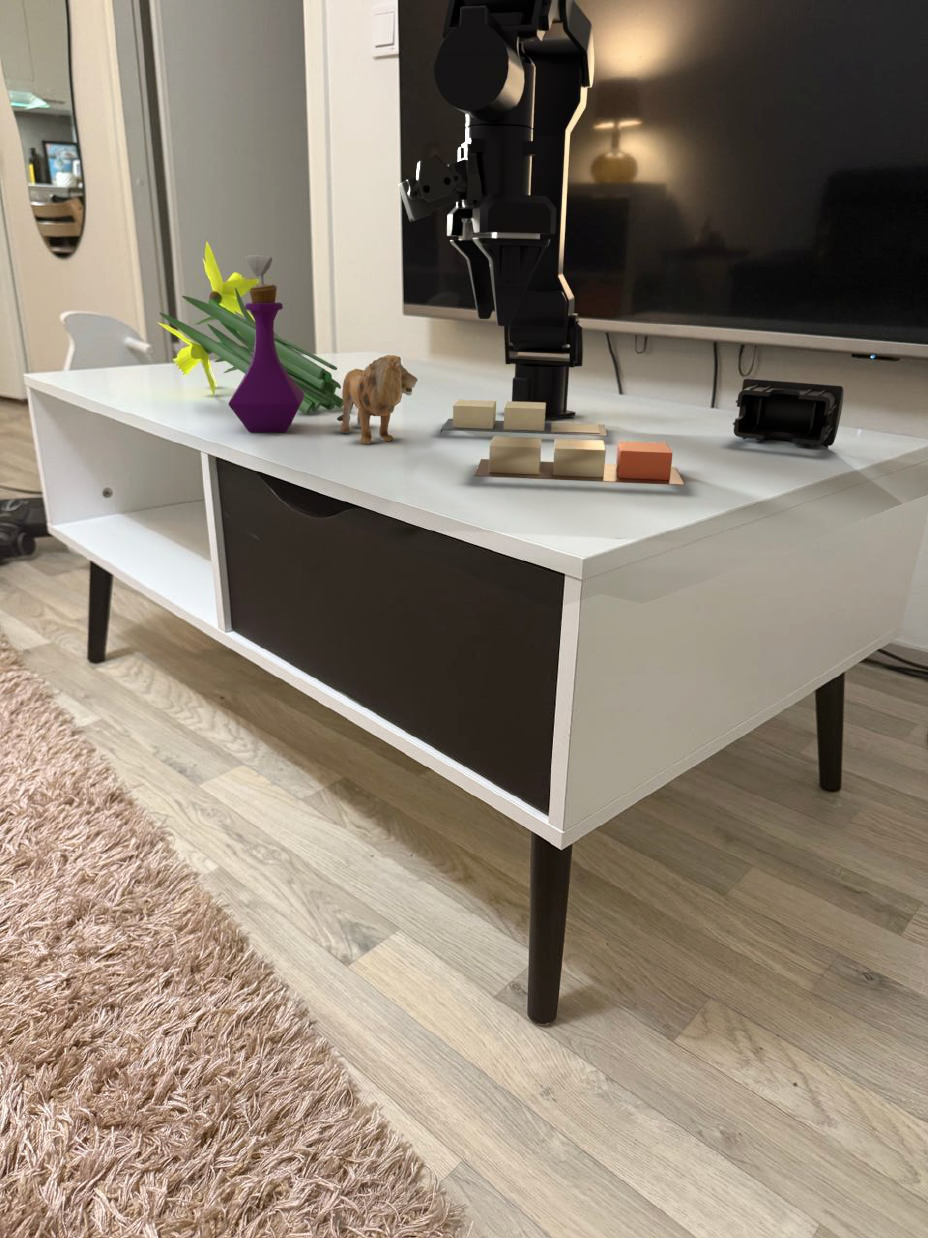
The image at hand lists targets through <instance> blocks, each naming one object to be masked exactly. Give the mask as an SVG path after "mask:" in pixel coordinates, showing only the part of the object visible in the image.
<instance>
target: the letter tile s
mask: <svg viewBox="0 0 928 1238" xmlns="http://www.w3.org/2000/svg"><path fill="white" fill-rule="evenodd" d="M673 455H674V453H673V451H672V449H671V448H670V445H669V443H667V442H652V441H651V442H650V441H649V442H648V441H628V440H627V441H625V440H623V441H622V440H618V441H617V448H616V459H615V461H616V462H615V464H616V469H617V473H618V477H619V478H627V479H650V480H670V474H671V467H672V463H673Z"/></svg>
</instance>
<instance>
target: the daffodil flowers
mask: <svg viewBox="0 0 928 1238" xmlns="http://www.w3.org/2000/svg"><path fill="white" fill-rule="evenodd" d="M202 262H203V265H204V271H205V275H206V276H207V278H208V280H209V282H210V287H211V289H212V291H211V292H209V295H208V303H207V302H205V301H202V300H199V299H197V298H193V297H190V296H187V295H182V296H181V297H182V298H183V299H184V300H185V301H187V302H188V303H189V304H191V305H192V306H194V307H195V308H197V309H199V310H200V311H202V312H203V313H205V314H206V315H208V316H207V317H204V318H202V319H201V320H199V321H198V322H196V323H195V324H194V326H199V325H202V324H205V323H207V326H208V328H209V330H211V332H212V333H213V334H214V335H215V336H216V338H217V339H218V340H219V341H217V340H214V339H213V338H212V337H209V336H207V335H206V334H205V333H203V332H201V331H199V330H198V329H196V328H194V327H192V326H190V325H188V324H186V323H184V322H182V321H181V320H179V319H176V318H174V317H172V316H170V315H168V314H166V313H164V312H160V311H159V315H160V316H161V317H163V318H164V319H165V320H166V321H167V322H169V324H171V325H172V326H174V327H175V328H177V329H178V330H177V329H175V328H173V327H171V326H169V324H164V323H161V322H157V321H156V323H157V324H158V325H160V326H161V327H162V328H163V329H164V330H167V331H168V332H170V333H171V334H172V335H174V336H175V337H177V338H178V339H180V340H181V341H182V342H183V343H186V344H187V345H188V346H185V347H182V348H181V349H180V350H179V351H178V353H177V355H176V356H177V357H175V358H173V359H172V361H173V363H174V364H175V366H176V367H178V370H180V371H181V372H180V373H183V375H184V377H187V376H188V375H189V373H190V372H191V371H192V370H193V369H194V368H195V367H196V366H197V365H198V364H199V363H201V365H202V368H203V370H204V373H205V376H206V378H207V382H208V384H209V387H210V390H211V392H212V395H213V396H215V392H216V388H218V384H217V381H216V377H215V374H214V372H213V369H212V365H211V361H210V358H209V355H211V354H214V355H216V356H218V359H216V360H213V361H212V363H222V362H227V363H228V364H229V365H230V366H232V367H230V368H228V369H226V370H224V371H223V374H227V373H230V372H233V371H237V370H238V371H240V372H241V373H243V374H245V373H246V371H247V369H248V367H249V365H250V363H251V361H252V357H253V353H254V348H255V340H256V325H255V320H254V318H253V316H252V314H251V312H250V311H249V310H247V309H245V303H244V302H243V299H242V298H241V297H243V296H245V295H246V294H248V293H249V292H250V291H249V290H250V289H251V287H253V286H257V285H258V284H259V283H260V282H261V279H258V278H246V277H243V274H240V272H237V271H234V272H233V273H232V274H231V275H230V277H229V278H228V279H227V280H226V281H223V277H222V274H221V271H220V269H219V266H218V264H217V261H216V258H215V255H214V253H213V250H212V248H211V246H210V244H209V242H208V241H206V243H205V248H204V258H203V257H202ZM236 313H238V314H239V315H241V316H243V317H240V316H239V315H237V314H236ZM216 320H217V321H219V323H220V324H221V325H222V326H223V327H224V328H225V329H226V330H227V331H228V332H230V334H232V335H233V336H234V337H235V338H236V339H237V340H238V341H239V342H241V343H242V344H243V345H240V344H239V343H237V342H236V341H235V340H233V339H232V338H230V337H229V336H228V335H226V334H225V333H223V332H222V331H220V330H219V329H218V328H216V327H214V326H213V325H212V324H209V323H208V322H212V321H216ZM181 332H182V333H181ZM184 334H185V335H186V336H187V337H189V338H191V339H189V338H187V337H186V336H185V335H184ZM274 342H275V347H276V352H277V355H278V358H279V360H280V363H281V364H282V366H283V367H284V369H285V370H286V372H287V373H288V375H289V376H290V377H291V379H292V380H293V381H294V382H295V383H296V384H297V386H298V387H299V388H300V389H301V390H302V392H303V393H304V394H305V396H304V398H303V401H302V403H301V405H300V407H299V409H298V411H301V412H302V413H304V414H305V415H308V414H309V413H310V412H311V411H312V412H316V411H317V410H318V409H319V408H320V406H321V407H322V408H324V409H326V410H328V411H332V410H333V409H335V407H336V408H338V409H341V408H342V407H343V397H340V396H339V395H337V394H336V389H337V388H338V389H342V386H341V384H340V383H339V382H338V381H336V380H335V379H334V378H333V375H332V373H331V372H330V371H328V370H326V369H325V368H324V367H321V366H320V365H319V364H321V365H324V366H325V367H327V368H329V369H331V370H332V371H337V370H338V367H337V366H335V365H334V364H332V363H330V362H329V361H326V360H325V359H323V358H321V357H319V356H318V355H316V354H314V353H312V352H310V351H308V350H306V349H304V348H303V347H300V346H299V345H297V344H294V343H292V342H291V341H288V340H287V339H285V338H282V337H281V336H279V335H278V334H277V333H276V332H275V331H274ZM297 351H298V352H297ZM299 352H300V353H302V354H304V355H305V356H308V357H309V358H311V359H313V360H314V361H317V362H318V363H319V364H317V363H316V362H314V361H312V360H311V359H309V358H307V357H305V356H304V355H302V354H300V353H299ZM212 376H213V377H212Z"/></svg>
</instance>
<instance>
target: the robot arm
mask: <svg viewBox="0 0 928 1238" xmlns="http://www.w3.org/2000/svg"><path fill="white" fill-rule="evenodd" d="M561 24H562V30H563V33H565V35H566V36H567V37H544V35H545V33H546V32H550V30H551V27H552V25H561ZM442 39H443V40H442V41H441V43H440V45H439V48H438V49H437V52H436V55H435V59H434V60H433V74H434V81H435V85H436V87H437V90H438V91H439V93H440V95H441V96H442V98H443V99H444V100H445V101H446V102H447V103H448V104H449V105H450V106H452V107H453V108H455V109H457V110H458V111H461V112H462V113H464V114H465V141H464V142H463V143H462V144H461V146H459V147H458V149H457V161H454V162H451V163H448V164H447V165H446V163H445V162H444V161H443V160H442V159H441V158H440V157H439V156H438V155H437V154H434V155H431V156H429V157H426V158H423V159H421V160H419V161H418V162H417V165H416V175H415V176H413V177H411V178H408V179H406V180H404V181H402V182H400V183H398V185H397V187H398V190H399V192H400V195H401V198H402V202H403V205H404V208H405V210H406V215H407V217H408V220H409V222H411V223H412V222H413V221H414V222H415V221H418V220H420V219H423V218H425V217H428V216H431V215H432V212H435V211H437V210H440V209H443V208H445V207H447V206H450V205H453V204H455V207H454V208H452V209H451V210H450V212H449V213H448V214H447V215H446V218H447V219H446V236H447V237H458V239H450V240H449V242H450V244H451V245H452V246H453V247H454V248H455V249H456V250H457V251H458V252H459V253H460V254H461V255H462V256H463V257H464V258H465V260H466V263H467V268H468V273H469V277H470V283H471V287H472V293H473V298H474V303H475V308H476V313H477V317H478V319H479V320H489V319H491V317H492V314H493V312H494V313H495V321H496V325H497V326H499V327H503V337H504V338H503V339H504V362H505V365H514V376H513V377H512V383H511V385H512V388H511V401H512V402H540V403H546V409H545V421H547V420H553V419H560V418H567V417H575V416H576V414H577V413H576V411H573V410H569V409H568V396H569V394H568V393H569V377H570V368H573V369H574V368H578V367H583V363H584V362H583V361H584V332H583V331H584V330H583V329H584V328H583V326H582V325H581V323H580V320H579V314H578V313H575V296H574V294H573V292H572V290H571V288H570V286H569V284H568V282H567V280H566V278H565V275H564V274H563V273H564V271H563V270H564V253H565V237H566V236H565V235H566V234H565V233H566V218H567V217H566V216H567V198H568V195H567V194H568V178H569V162H570V161H569V159H570V144H571V143H570V141H571V133H572V131H573V129H574V128H575V126H576V125H577V123H578V121H579V119H580V118H581V116H582V114H583V112H584V111H585V109H586V108H587V107H586V106H587V97H588V88H592V87H593V84H594V77H595V76H594V75H595V49H594V48H595V47H594V35H593V25H592V22H591V21H590V19H589V18H588V16H587V15H586V14H585V13H584V12H583V10H582V9H581V7H580V6H579V5H578V4H577V3H576V1H575V0H448V3H447V8H446V12H445V18H444V22H443V26H442ZM522 42H523V43H522ZM519 353H527V354H530V353H531V354H549V355H550V354H553V355H569V357H568V356H567V357H566V356H565V357H564V356H546V355H545V356H543V355H521V354H519Z"/></svg>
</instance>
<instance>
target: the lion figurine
mask: <svg viewBox="0 0 928 1238" xmlns="http://www.w3.org/2000/svg"><path fill="white" fill-rule="evenodd" d="M343 379H344V380H343V383H342V390H341V391H342V392H341V394H342V396H341V398H342V399H343V406H342V407H343V414H341V415H339V416H338V417H337V418H336V420H337V421H338V422H342V424H341V427H340V428H339V431H340V433H342V434H347V433H351V431H352V429H351V426H350V422H351V421H350V420H351V412H352V410H353V407H356V409H357V418H356V420H357V421H356V422H357V423H356V424H357V426H358V427H359V428H360V432H361V437H360V439H359V441H360V444H363V445H370V444H372V443H373V440H372V439H373V435H372V433H371V430H370V429H371V428H370V420H371V416H373V417H380V426H379V431H378V435H379V439H380V440H381V441H384V442H391V441H393V440H394V436H393V435H391V434H389V431H388V430H389V424H390V420H391V414H393V412H394V410H395V407H396V406H397V405H398V404H401V401H402V399H403V394H405V395H406V396H411V395H412V394H413V389H414V388H415V386H416V384H417V382H418V378H417V377H416V376H414V375H413V374H411V373H410V372H409V371H408V370H407V368H405V367H404V366H403V364H402V357H400V356H398V355H394V354H386V355H384V356H381V357H379V358H377V359H374V360H373V361H372V362H371V363H369V364H368V365H367V366H366V367H365V368H364V369H360V368H353V369H352V370H349V371H348V372H347V373H346V374H345V376H344V378H343Z"/></svg>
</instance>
